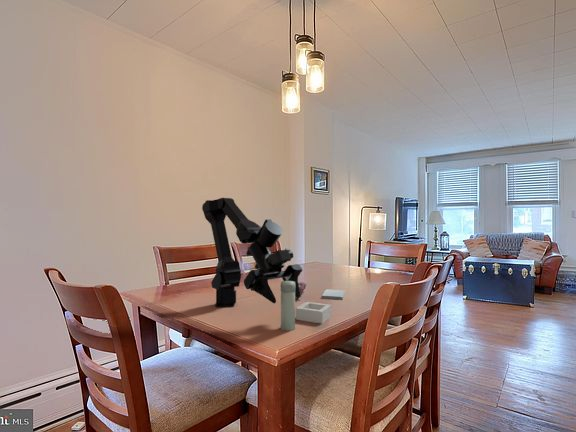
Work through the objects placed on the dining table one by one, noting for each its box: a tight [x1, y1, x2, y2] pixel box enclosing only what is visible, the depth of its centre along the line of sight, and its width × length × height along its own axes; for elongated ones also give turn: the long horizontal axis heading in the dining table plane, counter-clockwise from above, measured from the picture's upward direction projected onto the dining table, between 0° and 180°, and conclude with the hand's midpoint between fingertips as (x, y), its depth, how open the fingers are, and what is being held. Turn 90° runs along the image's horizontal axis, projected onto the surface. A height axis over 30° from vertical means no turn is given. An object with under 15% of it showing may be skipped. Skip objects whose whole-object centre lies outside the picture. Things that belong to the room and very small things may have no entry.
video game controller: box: [295, 281, 307, 299], centre depth 127 cm, size 10×5×7 cm, turn 169°
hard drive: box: [321, 288, 346, 301], centre depth 130 cm, size 2×8×12 cm
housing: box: [295, 301, 333, 325], centre depth 101 cm, size 9×9×4 cm
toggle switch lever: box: [280, 280, 296, 332], centre depth 91 cm, size 4×4×13 cm
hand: (287, 299), depth 91 cm, fingers open, 9 cm apart
